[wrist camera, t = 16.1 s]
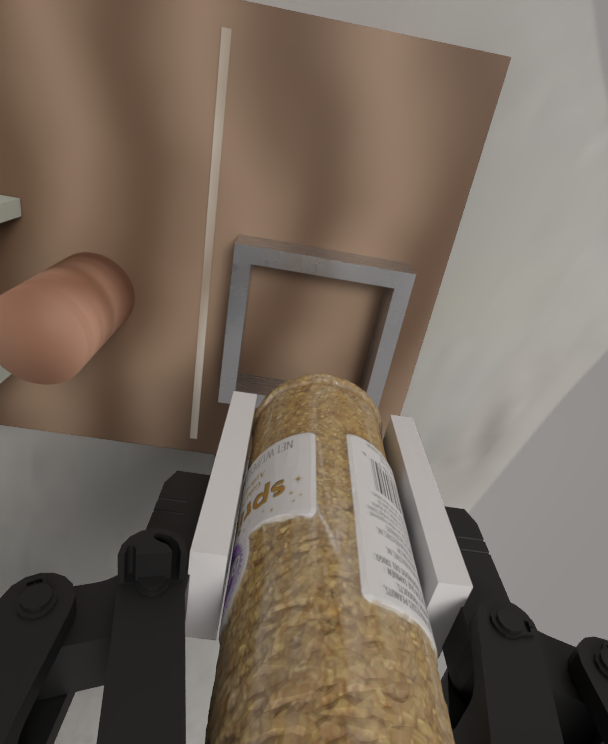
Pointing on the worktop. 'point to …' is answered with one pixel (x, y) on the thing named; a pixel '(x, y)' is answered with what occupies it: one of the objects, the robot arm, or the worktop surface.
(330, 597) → the sprinkles bottle
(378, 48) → the board
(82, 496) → the worktop surface
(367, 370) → the socket
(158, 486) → the worktop surface
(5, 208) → the cover
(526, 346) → the worktop surface
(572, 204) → the worktop surface
